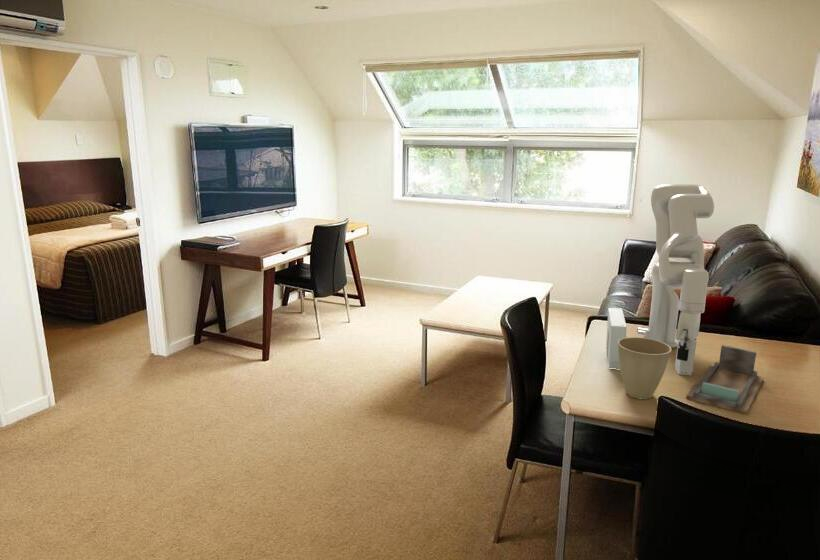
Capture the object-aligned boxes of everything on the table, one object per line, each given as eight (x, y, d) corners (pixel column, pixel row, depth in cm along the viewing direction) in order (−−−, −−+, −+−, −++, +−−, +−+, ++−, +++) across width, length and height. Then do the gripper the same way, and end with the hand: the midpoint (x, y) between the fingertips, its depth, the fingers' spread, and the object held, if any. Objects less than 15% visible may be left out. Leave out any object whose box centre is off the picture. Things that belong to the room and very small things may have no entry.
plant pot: (671, 407, 167) (677, 356, 163) (617, 403, 170) (622, 352, 166) (658, 385, 181) (664, 338, 178) (609, 382, 184) (614, 335, 180)
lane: (686, 398, 173) (689, 370, 171) (708, 367, 196) (712, 342, 193) (746, 414, 163) (751, 384, 161) (763, 380, 186) (767, 354, 184)
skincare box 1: (604, 348, 214) (608, 307, 210) (619, 349, 212) (623, 308, 209) (607, 369, 194) (611, 324, 190) (624, 371, 193) (628, 326, 189)
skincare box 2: (692, 375, 189) (697, 341, 186) (678, 374, 190) (682, 340, 187) (687, 368, 195) (692, 335, 192) (674, 367, 196) (678, 334, 193)
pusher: (701, 393, 173) (702, 383, 172) (701, 392, 174) (703, 381, 173) (736, 402, 167) (737, 391, 166) (736, 401, 168) (738, 390, 167)
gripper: (686, 299, 195) (680, 346, 199) (672, 309, 182) (666, 360, 186) (710, 302, 191) (704, 351, 195) (697, 313, 178) (691, 366, 181)
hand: (685, 355), depth 190 cm, fingers open, 9 cm apart
